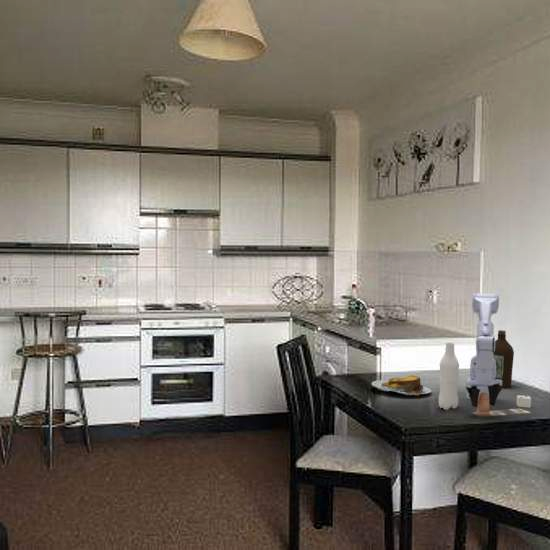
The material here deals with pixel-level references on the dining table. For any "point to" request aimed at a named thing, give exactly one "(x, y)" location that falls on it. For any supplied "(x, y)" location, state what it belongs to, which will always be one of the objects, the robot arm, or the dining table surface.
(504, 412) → the board
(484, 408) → the pawn
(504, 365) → the olive oil
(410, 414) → the dining table surface
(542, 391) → the dining table surface
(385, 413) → the dining table surface
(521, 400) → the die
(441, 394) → the water bottle
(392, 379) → the food on plate
